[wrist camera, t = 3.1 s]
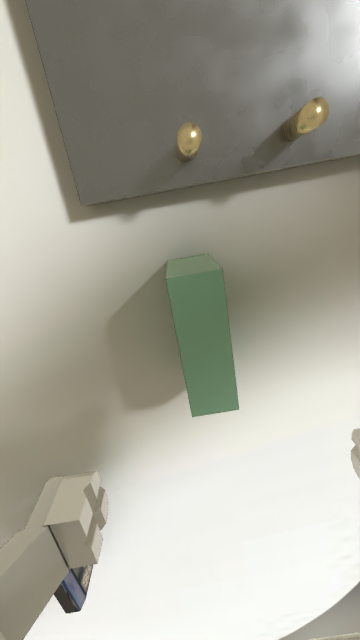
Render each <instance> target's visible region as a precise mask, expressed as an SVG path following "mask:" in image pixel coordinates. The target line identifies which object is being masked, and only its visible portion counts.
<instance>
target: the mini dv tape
mask: <svg viewBox="0 0 360 640" xmlns="http://www.w3.org/2000/svg"><path fill="white" fill-rule="evenodd" d="M92 568H93V565H87V566H82V567H77V568H71V569H68V570H69V572H68V573H67V575H66V576H65V578H64V579H63V581H62V582H61V584H60V585H59V587H58V588H57V590H56V591H55V593H54V595H55V597H56V598H57V600H58V601H59V603H60V605H61V606H62V608H63V609H64V611H65V612H66V613H72V612H78V611H80V610H81V608H82V606H83V604H84V601H85V599H86V595H87V590H88V586H89V582H90V577H91V573H92Z"/></svg>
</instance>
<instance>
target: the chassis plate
mask: <svg viewBox="0 0 360 640" xmlns="http://www.w3.org/2000/svg"><path fill="white" fill-rule="evenodd" d="M26 4H27V8H28V11H29V15H30V19H31V22H32V26H33V30H34V33H35V37H36V41H37V44H38V48H39V52H40V55H41V59H42V63H43V66H44V70H45V74H46V77H47V81H48V85H49V88H50V92H51V96H52V99H53V103H54V107H55V110H56V114H57V118H58V121H59V125H60V129H61V132H62V136H63V140H64V143H65V147H66V151H67V154H68V158H69V162H70V165H71V169H72V173H73V176H74V180H75V184H76V188H77V191H78V195H79V199H80V202H81V205H85V206H89V205H95V204H100V203H105V202H111V201H116V200H122V199H127V198H132V197H138V196H143V195H148V194H154V193H159V192H164V191H170V190H175V189H180V188H186V187H191V186H196V185H202V184H207V183H212V182H218V181H223V180H229V179H234V178H239V177H245V176H250V175H255V174H261V173H266V172H271V171H277V170H282V169H287V168H293V167H298V166H303V165H309V164H314V163H319V162H325V161H330V160H336V159H341V158H346V157H352V156H357V155H360V0H26Z"/></svg>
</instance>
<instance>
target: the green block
mask: <svg viewBox="0 0 360 640" xmlns="http://www.w3.org/2000/svg"><path fill="white" fill-rule="evenodd" d="M166 284H167V289H168V294H169V299H170V305H171V310H172V315H173V320H174V325H175V330H176V336H177V341H178V346H179V351H180V356H181V362H182V367H183V372H184V377H185V382H186V388H187V393H188V398H189V403H190V408H191V413H192V417H196V416H202V415H208V414H214V413H221V412H227V411H233V410H239V404H238V395H237V387H236V379H235V370H234V362H233V354H232V345H231V337H230V329H229V321H228V312H227V304H226V296H225V287H224V279H223V271H222V268H221V267H220V266H219V265H218V264H217V262H216V261H215V260H214V259H213V258H212V257H211V256H210V255H209V254H203V255H198V256H192V257H186V258H181V259H175V260H170V261H167V268H166Z"/></svg>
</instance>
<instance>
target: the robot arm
mask: <svg viewBox="0 0 360 640" xmlns="http://www.w3.org/2000/svg"><path fill="white" fill-rule="evenodd" d="M352 441H353V442H354V443H355V444H356V445H355V446H354V447H353V449H352V450H351V461H352V464H353V467H354V470H355V472H356V474H357V476H358V477H359V478H360V428H359V429H354V430H353V432H352ZM100 483H101V478H100V475H99V473H98V472H96V471H95V472H87V473H80V474H72V475H66V476H60V477H52V478H50V479H49V480H48V481H47V482H46V483H45V486H44V488H43V490H42V492H41V494H40V496H39V498H38V501H37V503H36V505H35V507H34V509H33V511H32V514H31V516H30V518H29V520H28V522H27V524H26V526H25V529H24V530H20V531H18V532H17V533H16V534H15V535H14V536H13V537H12V538H11V539H10V540H9V541H8V542H7V543H6V544H5V545H4V546H3V547H2V548H1V549H0V640H23V639H24V637H25V636H26V634H27V633H28V632H29V630H30V629H31V627H32V626H33V624H34V623H35V621H36V620H37V618H38V617H39V615H40V614H41V612H42V611H43V609H44V608H45V606H46V605H47V603H48V602H49V600H50V599H51V597H52V596H53V594H54V593H55V591H56V590H57V588H58V587H59V585H60V584H61V582H62V581H63V579H64V578H65V576H66V575H67V573H68V572H69V570H68V569H71V568H77V567H82V566H87V565H93V564H98V560H99V555H100V550H101V545H102V541H103V538H102V535H101V533H100V530H101V529H102V528H103V527H104V525H105V524H106V521H107V516H108V499H107V494H106V491H105V489H103V488H102V487H100ZM310 640H360V632H358V633H351V634H345V635H337V636H330V637H323V638H316V639H310Z"/></svg>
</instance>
